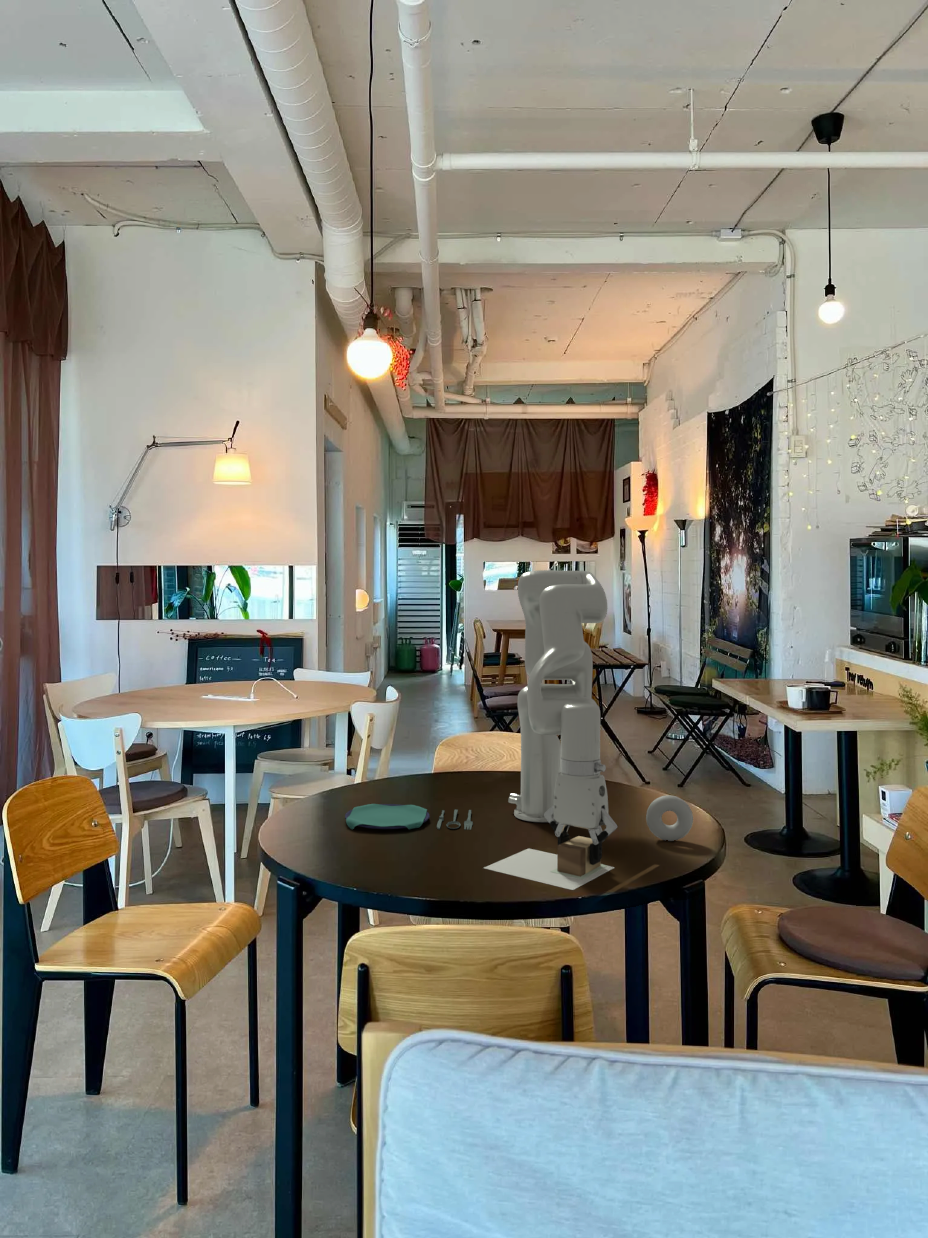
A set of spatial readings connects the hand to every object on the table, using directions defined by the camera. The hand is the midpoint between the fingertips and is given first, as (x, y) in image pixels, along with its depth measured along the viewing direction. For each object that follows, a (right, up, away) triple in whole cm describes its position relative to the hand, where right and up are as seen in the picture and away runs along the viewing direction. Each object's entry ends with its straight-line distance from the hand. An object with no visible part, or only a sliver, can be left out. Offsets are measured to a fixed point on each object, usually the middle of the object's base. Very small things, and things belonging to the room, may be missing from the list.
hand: (579, 858), depth 171 cm
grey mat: (-6, -3, +1) cm, 6 cm away
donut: (+22, -2, +21) cm, 31 cm away
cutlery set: (-35, -2, +36) cm, 50 cm away
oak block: (0, -2, 0) cm, 2 cm away
